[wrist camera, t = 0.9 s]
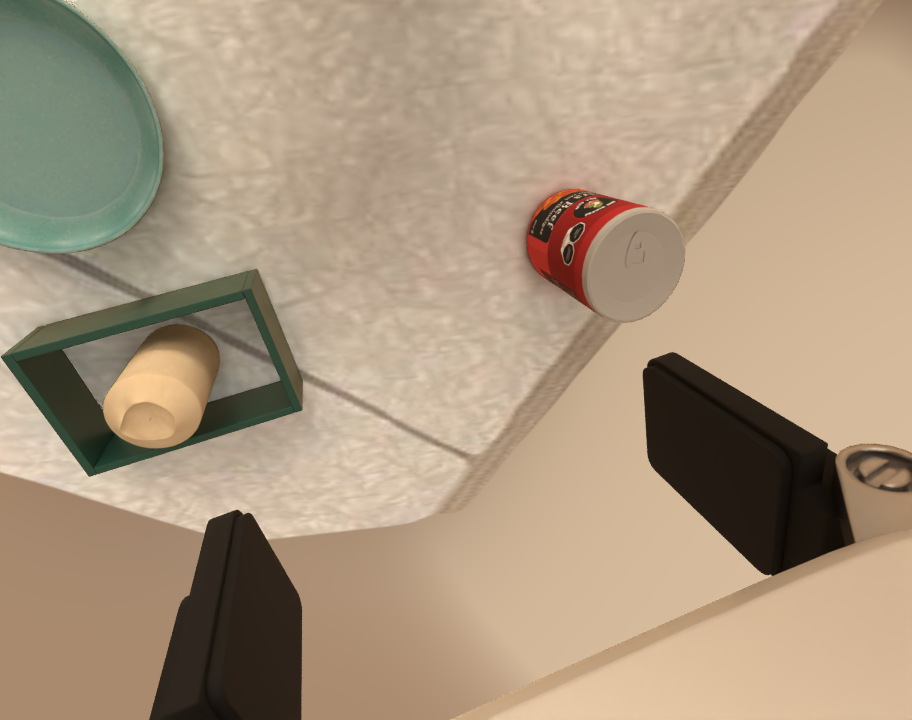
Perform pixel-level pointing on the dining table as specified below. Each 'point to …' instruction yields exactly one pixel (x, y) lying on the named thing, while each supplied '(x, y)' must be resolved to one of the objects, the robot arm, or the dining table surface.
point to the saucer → (71, 132)
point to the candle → (163, 388)
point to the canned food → (607, 252)
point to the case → (57, 379)
